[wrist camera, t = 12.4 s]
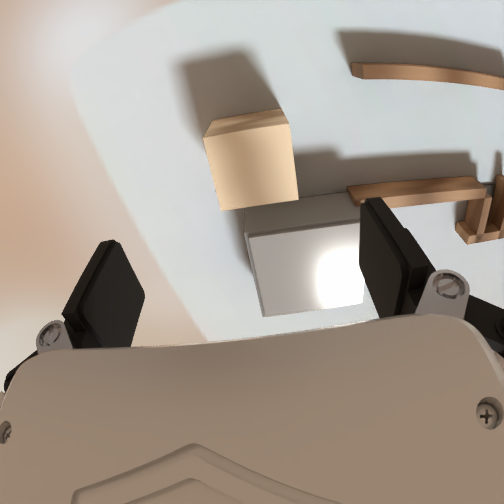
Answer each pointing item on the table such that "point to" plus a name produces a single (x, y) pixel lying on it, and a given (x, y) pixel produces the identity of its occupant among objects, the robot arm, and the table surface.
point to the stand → (305, 253)
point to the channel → (440, 189)
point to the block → (251, 159)
